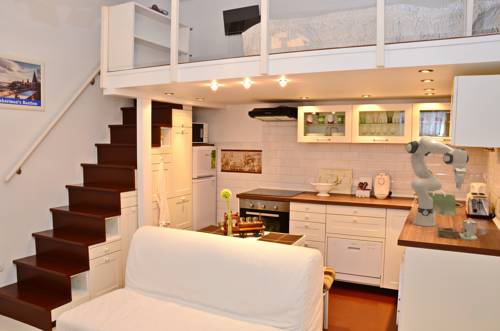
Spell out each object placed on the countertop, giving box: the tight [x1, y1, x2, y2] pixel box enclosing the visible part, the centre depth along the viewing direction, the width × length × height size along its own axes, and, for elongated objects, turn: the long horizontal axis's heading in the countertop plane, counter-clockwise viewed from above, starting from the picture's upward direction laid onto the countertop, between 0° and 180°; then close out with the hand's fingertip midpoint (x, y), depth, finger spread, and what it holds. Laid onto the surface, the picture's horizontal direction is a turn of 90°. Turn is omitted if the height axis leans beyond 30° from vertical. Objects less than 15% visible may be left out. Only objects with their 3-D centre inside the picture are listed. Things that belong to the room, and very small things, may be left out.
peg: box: [464, 221, 472, 237], centre depth 277 cm, size 4×4×11 cm
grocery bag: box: [428, 189, 457, 217], centre depth 374 cm, size 32×14×23 cm, turn 73°
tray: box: [458, 232, 478, 242], centre depth 278 cm, size 12×10×2 cm
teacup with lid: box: [458, 217, 477, 236], centre depth 293 cm, size 12×9×12 cm
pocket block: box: [437, 226, 459, 240], centre depth 282 cm, size 12×12×5 cm
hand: (458, 188), depth 283 cm, fingers open, 8 cm apart
